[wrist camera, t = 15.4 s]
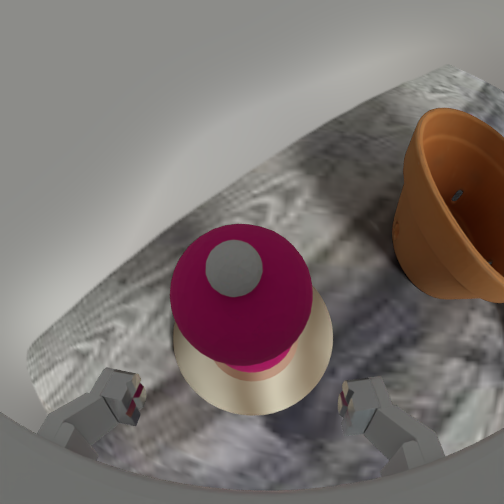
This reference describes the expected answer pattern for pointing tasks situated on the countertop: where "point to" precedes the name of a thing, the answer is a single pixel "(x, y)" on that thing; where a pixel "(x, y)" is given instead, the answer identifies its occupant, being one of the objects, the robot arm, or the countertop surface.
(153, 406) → the countertop surface
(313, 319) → the disc
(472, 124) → the flower pot
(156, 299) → the countertop surface
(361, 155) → the countertop surface
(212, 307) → the pepper mill
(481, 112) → the countertop surface
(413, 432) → the robot arm
